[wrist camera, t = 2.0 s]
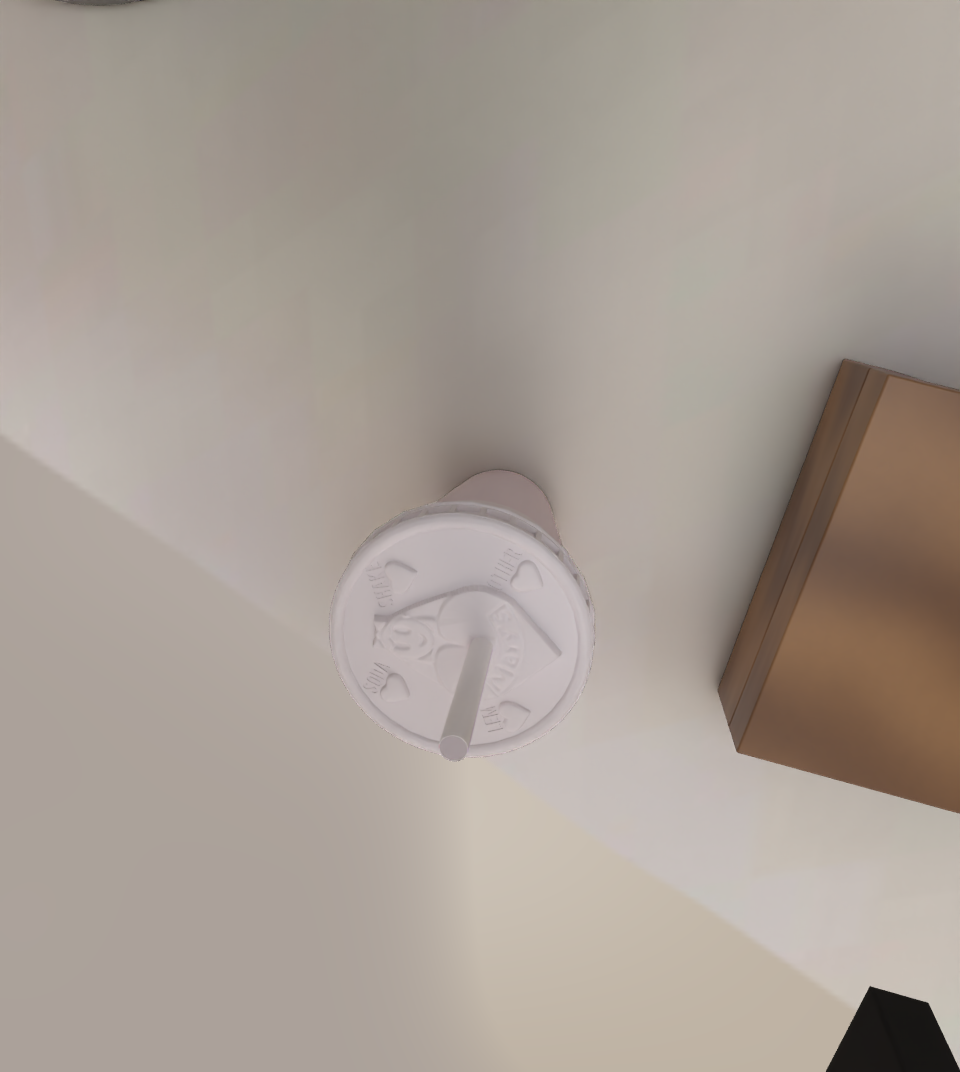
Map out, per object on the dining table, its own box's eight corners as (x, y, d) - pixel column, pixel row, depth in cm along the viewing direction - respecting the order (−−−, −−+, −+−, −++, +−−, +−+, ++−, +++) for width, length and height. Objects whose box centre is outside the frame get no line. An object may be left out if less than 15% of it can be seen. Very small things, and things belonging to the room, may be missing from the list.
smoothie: (581, 618, 29) (578, 909, 16) (403, 597, 30) (257, 862, 16) (603, 439, 27) (620, 603, 14) (412, 421, 28) (252, 562, 14)
